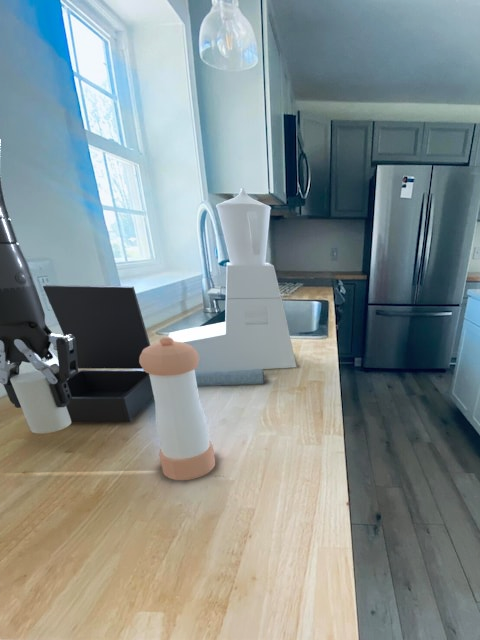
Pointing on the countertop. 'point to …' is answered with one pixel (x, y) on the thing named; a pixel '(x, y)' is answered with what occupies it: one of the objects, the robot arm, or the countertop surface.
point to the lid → (101, 324)
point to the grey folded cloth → (230, 377)
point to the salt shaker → (178, 409)
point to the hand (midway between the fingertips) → (43, 405)
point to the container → (39, 403)
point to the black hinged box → (108, 395)
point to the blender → (245, 299)
